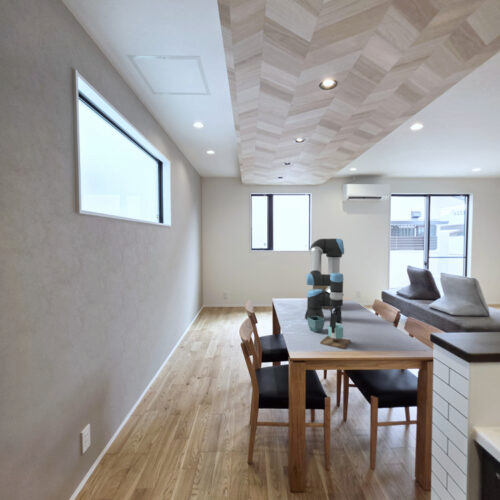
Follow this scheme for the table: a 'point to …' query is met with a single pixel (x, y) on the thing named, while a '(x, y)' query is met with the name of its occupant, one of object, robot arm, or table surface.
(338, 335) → the ring
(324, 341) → the post stand
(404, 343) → the table surface
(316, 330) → the flower pot
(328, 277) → the robot arm
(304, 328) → the table surface
